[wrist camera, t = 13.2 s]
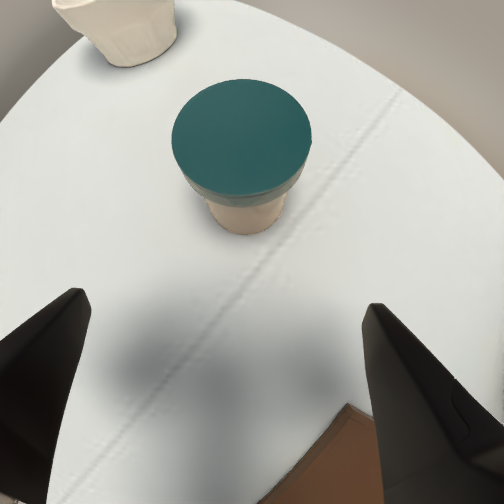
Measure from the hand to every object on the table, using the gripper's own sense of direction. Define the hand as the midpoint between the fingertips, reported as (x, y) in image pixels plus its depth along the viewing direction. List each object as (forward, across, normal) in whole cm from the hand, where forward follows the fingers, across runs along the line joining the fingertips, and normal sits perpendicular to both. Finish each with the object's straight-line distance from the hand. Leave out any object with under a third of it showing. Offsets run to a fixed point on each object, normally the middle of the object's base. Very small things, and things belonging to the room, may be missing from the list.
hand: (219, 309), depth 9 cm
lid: (+8, 0, -3) cm, 9 cm away
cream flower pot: (+29, +13, -10) cm, 33 cm away
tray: (-3, -10, +22) cm, 24 cm away
